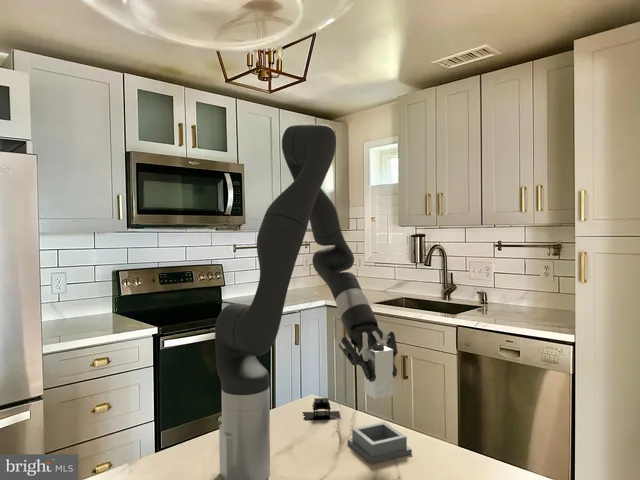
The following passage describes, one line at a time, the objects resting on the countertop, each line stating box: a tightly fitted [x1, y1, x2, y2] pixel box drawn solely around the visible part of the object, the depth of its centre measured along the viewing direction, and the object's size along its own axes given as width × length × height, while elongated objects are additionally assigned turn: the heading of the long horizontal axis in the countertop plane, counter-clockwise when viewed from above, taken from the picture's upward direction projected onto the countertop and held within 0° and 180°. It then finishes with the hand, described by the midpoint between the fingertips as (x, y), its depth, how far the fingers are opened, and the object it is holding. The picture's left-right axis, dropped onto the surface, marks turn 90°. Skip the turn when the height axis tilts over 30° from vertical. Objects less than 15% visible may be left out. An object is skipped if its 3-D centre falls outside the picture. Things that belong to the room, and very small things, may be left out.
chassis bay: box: [347, 421, 413, 465], centre depth 100 cm, size 10×10×4 cm
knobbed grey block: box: [363, 342, 394, 400], centre depth 100 cm, size 4×4×11 cm
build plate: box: [302, 397, 342, 422], centre depth 118 cm, size 12×7×5 cm, turn 94°
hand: (383, 377), depth 98 cm, fingers closed on knobbed grey block, 4 cm apart
